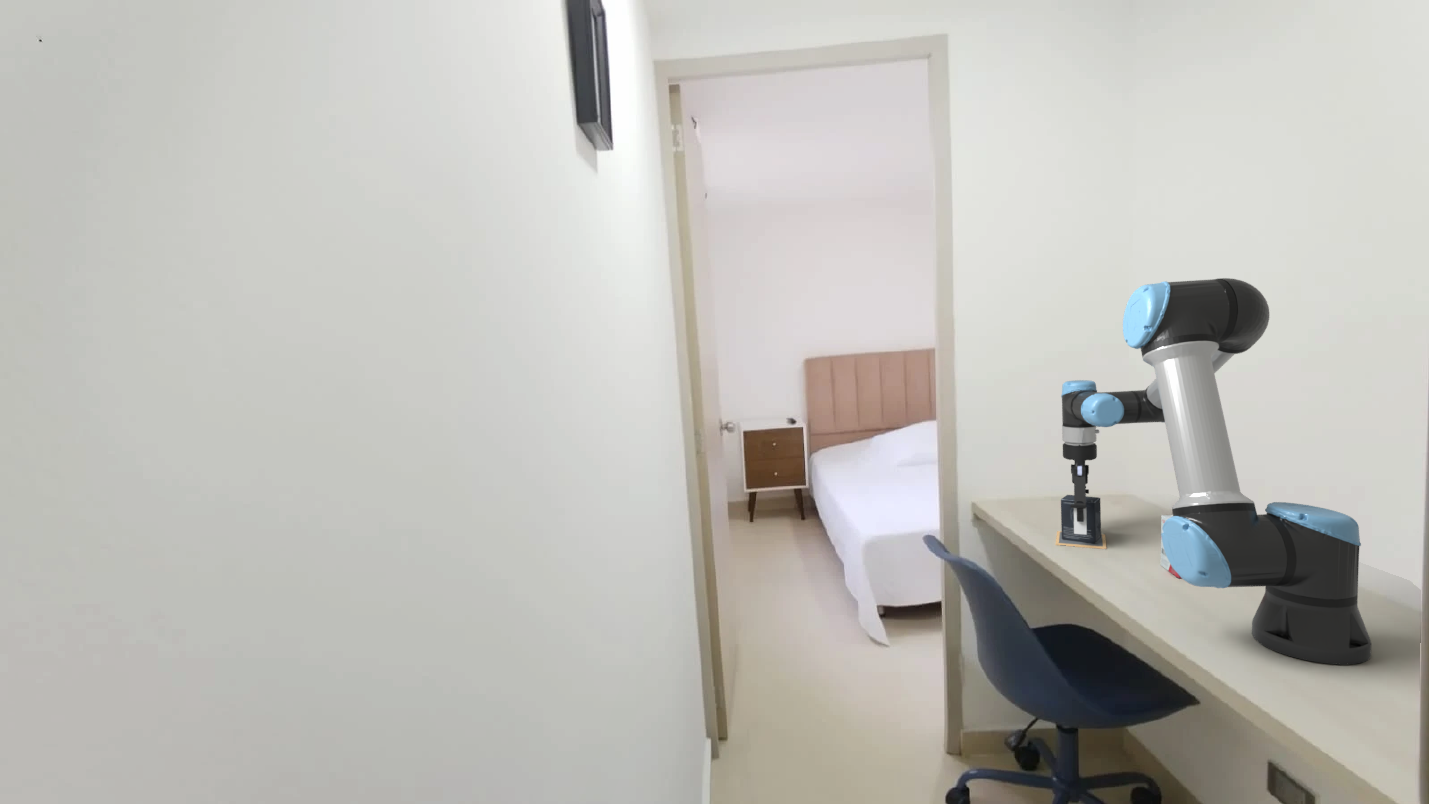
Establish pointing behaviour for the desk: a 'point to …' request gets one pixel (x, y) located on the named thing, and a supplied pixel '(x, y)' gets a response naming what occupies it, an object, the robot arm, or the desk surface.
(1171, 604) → the desk surface
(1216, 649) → the desk surface
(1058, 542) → the mat
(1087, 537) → the box
